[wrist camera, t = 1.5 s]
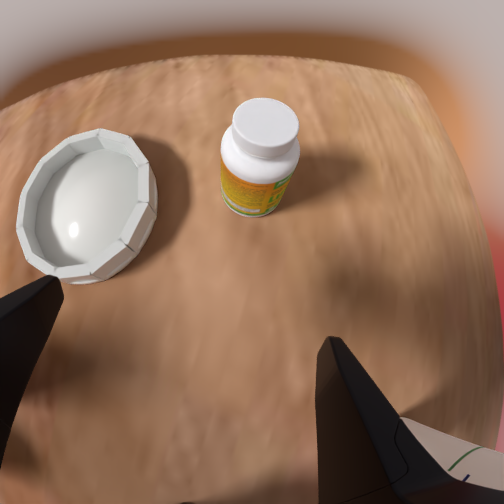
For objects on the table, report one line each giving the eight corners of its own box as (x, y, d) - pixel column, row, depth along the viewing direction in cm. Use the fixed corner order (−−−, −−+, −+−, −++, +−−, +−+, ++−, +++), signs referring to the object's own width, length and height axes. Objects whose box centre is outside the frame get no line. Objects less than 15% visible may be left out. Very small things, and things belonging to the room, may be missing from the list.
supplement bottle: (269, 228, 24) (297, 171, 15) (210, 205, 24) (204, 137, 15) (289, 177, 26) (320, 107, 16) (234, 156, 26) (241, 80, 16)
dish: (188, 220, 24) (183, 206, 21) (66, 315, 21) (48, 314, 18) (118, 124, 25) (111, 106, 23) (19, 203, 22) (4, 192, 19)
